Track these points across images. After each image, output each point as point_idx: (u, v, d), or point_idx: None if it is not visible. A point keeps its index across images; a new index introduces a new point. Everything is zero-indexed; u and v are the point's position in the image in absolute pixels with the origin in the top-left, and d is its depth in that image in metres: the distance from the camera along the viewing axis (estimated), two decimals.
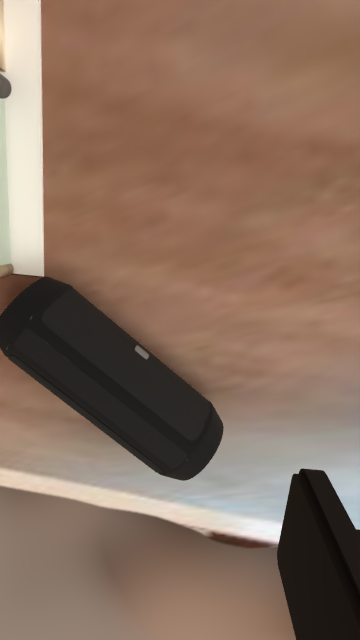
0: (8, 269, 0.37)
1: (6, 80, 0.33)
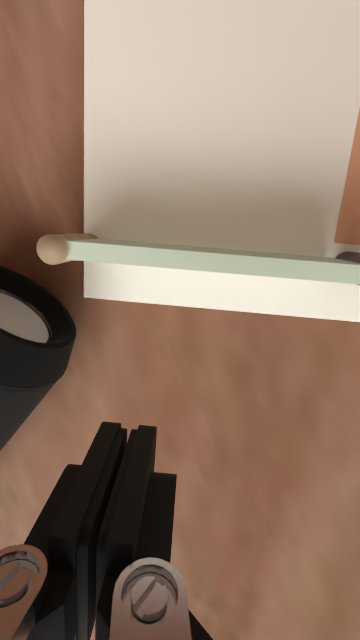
0: None
1: None
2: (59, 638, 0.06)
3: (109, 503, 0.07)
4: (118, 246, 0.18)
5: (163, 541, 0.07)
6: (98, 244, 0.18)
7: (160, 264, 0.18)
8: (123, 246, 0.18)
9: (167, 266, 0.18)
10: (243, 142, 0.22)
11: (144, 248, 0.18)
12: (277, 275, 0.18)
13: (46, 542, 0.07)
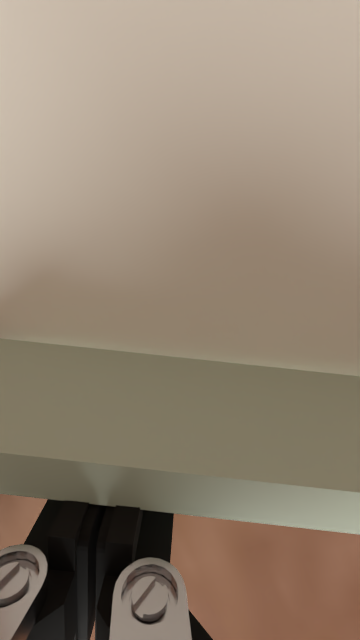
0: None
1: None
2: (59, 638, 0.06)
3: None
4: None
5: (163, 541, 0.07)
6: None
7: (65, 495, 0.07)
8: None
9: (83, 500, 0.07)
10: (268, 164, 0.11)
11: (20, 457, 0.07)
12: None
13: (46, 542, 0.07)
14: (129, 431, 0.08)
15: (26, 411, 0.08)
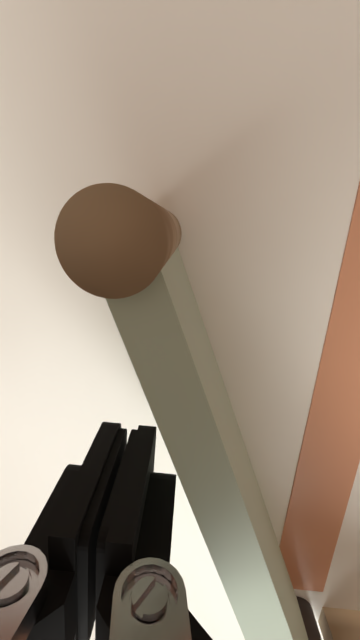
0: None
1: None
2: (59, 638, 0.06)
3: (109, 503, 0.07)
4: (212, 427, 0.06)
5: (163, 541, 0.07)
6: (194, 371, 0.06)
7: (211, 536, 0.07)
8: (218, 437, 0.06)
9: (213, 552, 0.07)
10: None
11: (235, 488, 0.06)
12: None
13: (46, 542, 0.07)
14: (255, 517, 0.08)
15: (222, 416, 0.08)
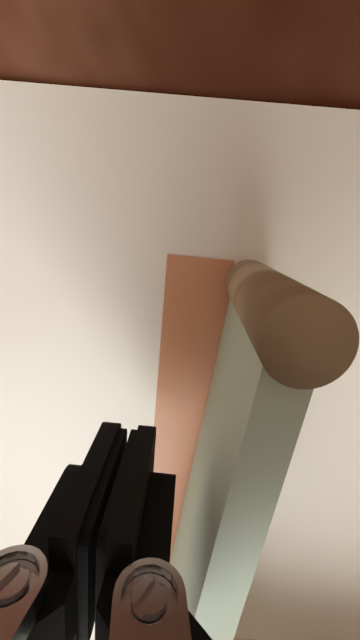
0: (228, 286, 0.11)
1: None
2: (59, 638, 0.06)
3: (109, 503, 0.07)
4: (273, 505, 0.07)
5: (163, 541, 0.07)
6: (288, 457, 0.06)
7: (212, 583, 0.07)
8: (270, 513, 0.07)
9: (205, 596, 0.07)
10: None
11: (256, 557, 0.07)
12: None
13: (46, 542, 0.07)
14: None
15: None
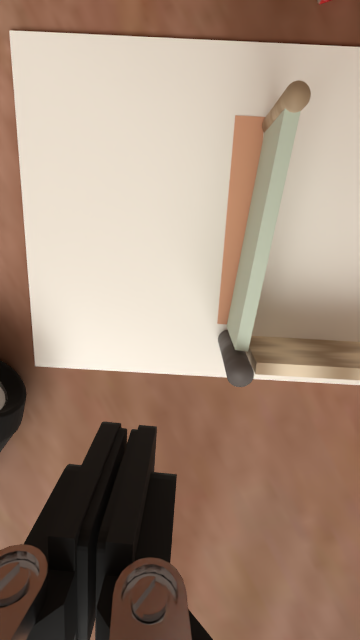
0: (265, 120, 0.25)
1: None
2: (59, 638, 0.06)
3: (109, 503, 0.07)
4: (288, 160, 0.22)
5: (163, 541, 0.07)
6: (293, 142, 0.21)
7: (269, 196, 0.22)
8: (288, 165, 0.22)
9: (267, 202, 0.22)
10: (144, 256, 0.30)
11: (283, 183, 0.22)
12: (249, 287, 0.24)
13: (46, 542, 0.07)
14: None
15: None
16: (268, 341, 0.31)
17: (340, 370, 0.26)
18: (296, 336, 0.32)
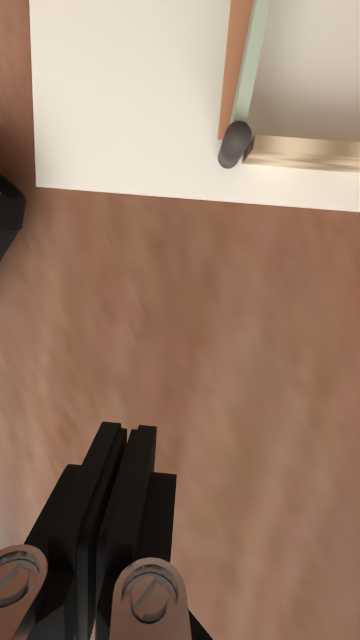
0: None
1: (232, 166, 0.32)
2: (59, 638, 0.06)
3: (109, 503, 0.07)
4: None
5: (163, 541, 0.07)
6: None
7: None
8: None
9: None
10: (147, 61, 0.30)
11: None
12: (249, 45, 0.24)
13: (46, 542, 0.07)
14: None
15: None
16: None
17: (338, 144, 0.26)
18: None
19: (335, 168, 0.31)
